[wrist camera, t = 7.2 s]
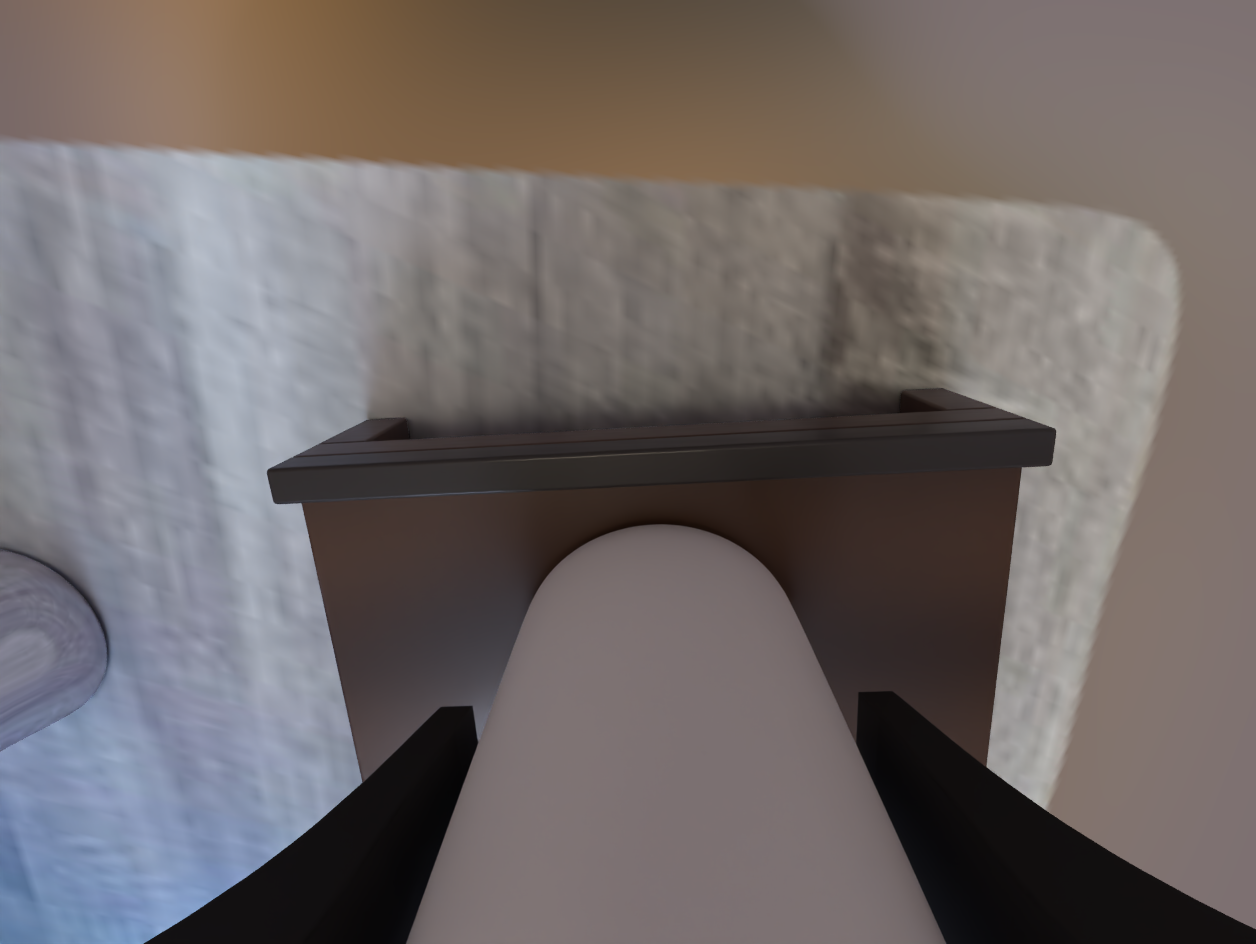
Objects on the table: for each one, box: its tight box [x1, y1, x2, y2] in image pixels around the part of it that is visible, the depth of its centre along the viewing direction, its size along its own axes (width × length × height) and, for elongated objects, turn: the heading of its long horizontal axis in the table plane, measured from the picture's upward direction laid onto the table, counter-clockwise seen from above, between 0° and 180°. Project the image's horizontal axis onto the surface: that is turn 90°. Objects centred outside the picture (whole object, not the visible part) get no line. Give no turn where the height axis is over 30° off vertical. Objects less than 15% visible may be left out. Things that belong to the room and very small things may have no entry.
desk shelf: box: [267, 388, 1056, 782], centre depth 17 cm, size 10×16×5 cm, turn 93°
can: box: [406, 524, 946, 944], centre depth 9 cm, size 6×6×12 cm
